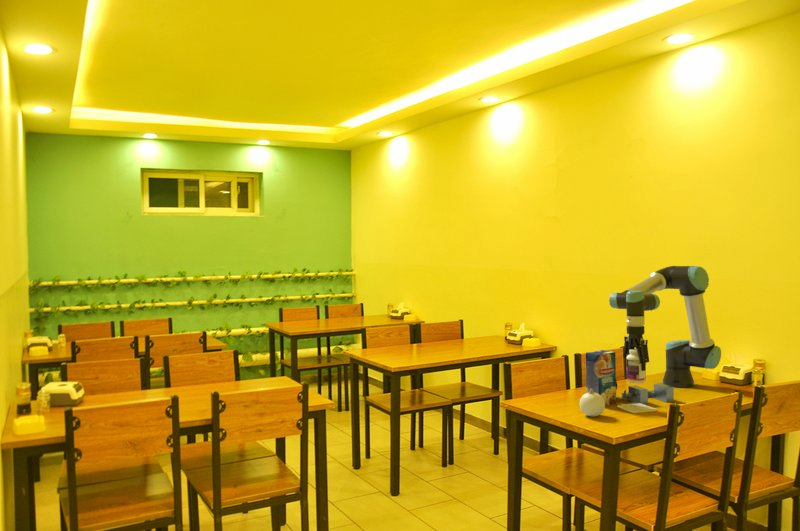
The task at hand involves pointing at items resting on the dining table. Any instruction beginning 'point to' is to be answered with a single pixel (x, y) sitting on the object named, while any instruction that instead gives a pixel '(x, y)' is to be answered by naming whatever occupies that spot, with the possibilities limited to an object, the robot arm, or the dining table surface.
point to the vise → (649, 393)
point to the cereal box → (601, 375)
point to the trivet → (636, 408)
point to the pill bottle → (633, 367)
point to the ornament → (592, 404)
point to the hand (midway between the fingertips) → (636, 375)
